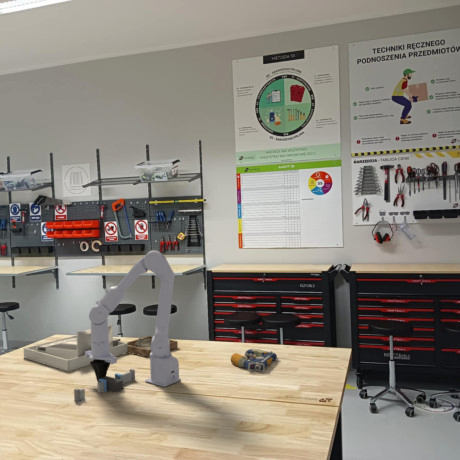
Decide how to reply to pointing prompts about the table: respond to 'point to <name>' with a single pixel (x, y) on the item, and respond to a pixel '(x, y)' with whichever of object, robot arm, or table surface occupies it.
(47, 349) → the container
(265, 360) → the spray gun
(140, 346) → the rock sample
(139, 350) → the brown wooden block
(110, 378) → the charcoal brick
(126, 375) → the blue capped pillar
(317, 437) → the table surface
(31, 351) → the container tray
